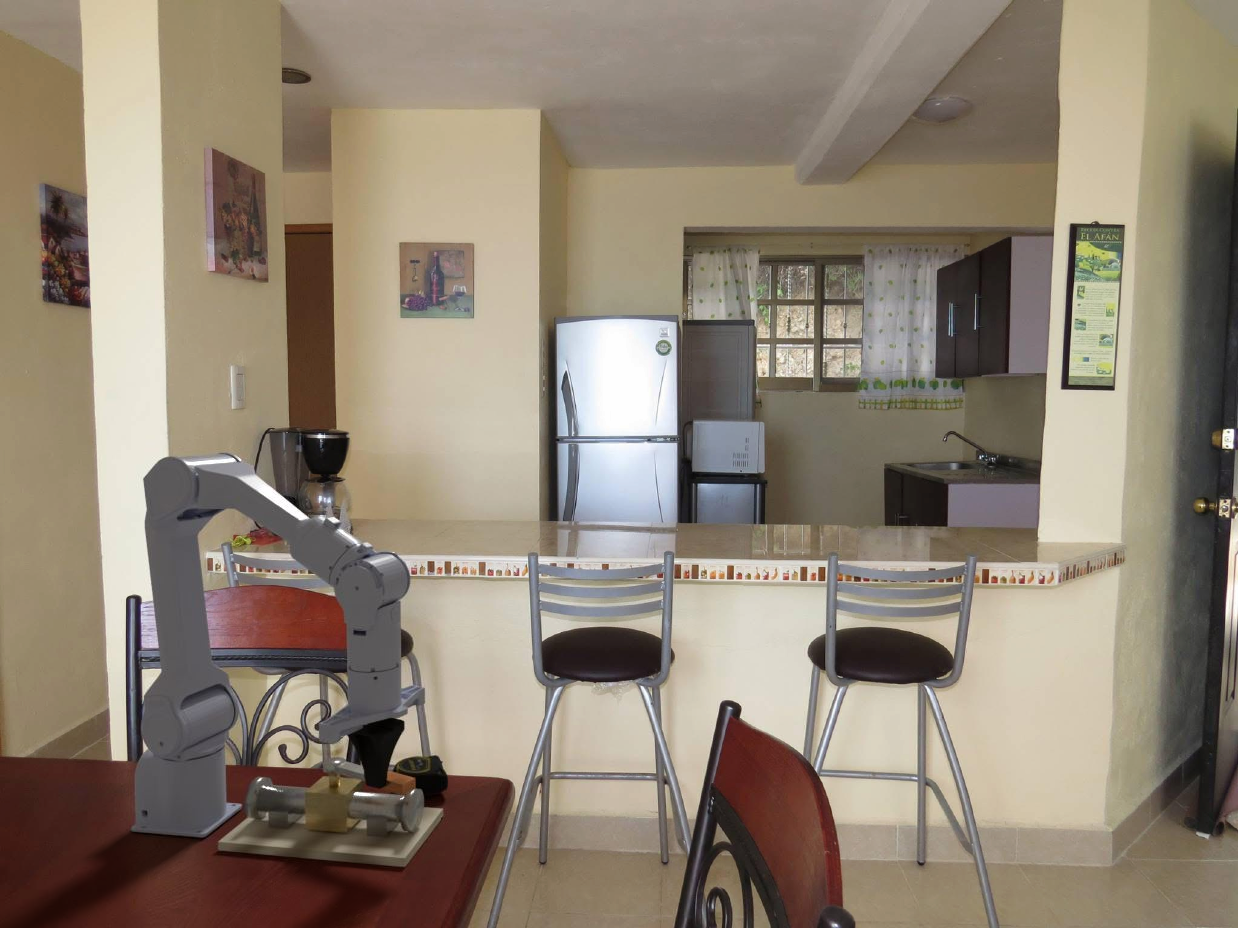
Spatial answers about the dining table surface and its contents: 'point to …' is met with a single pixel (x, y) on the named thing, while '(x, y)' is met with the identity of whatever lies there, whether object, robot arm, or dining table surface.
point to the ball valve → (333, 806)
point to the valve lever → (340, 766)
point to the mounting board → (331, 841)
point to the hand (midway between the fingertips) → (376, 785)
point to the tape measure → (424, 773)
